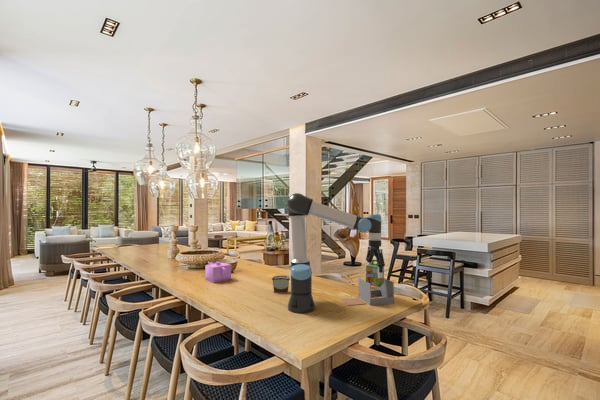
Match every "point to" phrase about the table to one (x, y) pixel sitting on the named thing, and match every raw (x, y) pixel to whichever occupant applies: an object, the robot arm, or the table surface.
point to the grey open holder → (376, 292)
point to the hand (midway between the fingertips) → (374, 275)
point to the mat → (353, 301)
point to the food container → (280, 284)
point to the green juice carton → (374, 274)
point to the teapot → (217, 272)
